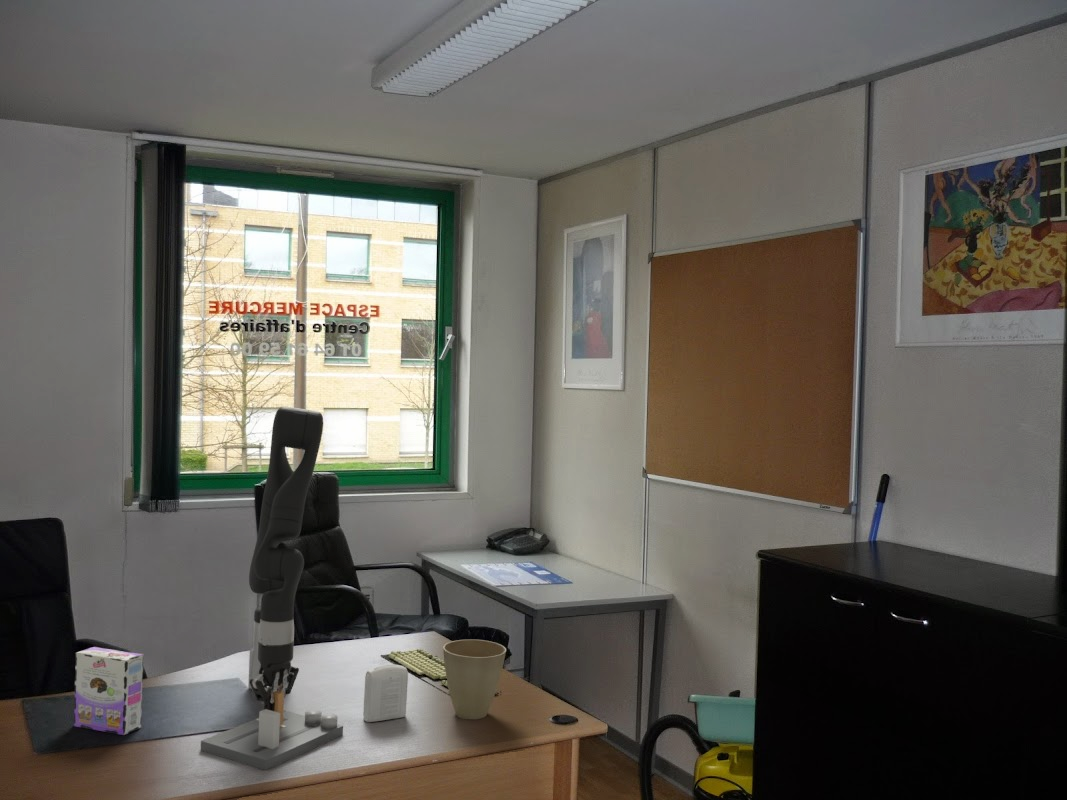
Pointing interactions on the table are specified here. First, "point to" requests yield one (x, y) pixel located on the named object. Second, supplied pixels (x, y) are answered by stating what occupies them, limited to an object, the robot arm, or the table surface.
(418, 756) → the table surface
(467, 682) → the plant pot
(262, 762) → the console
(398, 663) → the keyboard
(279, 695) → the fader cap
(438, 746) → the table surface
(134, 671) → the candy box
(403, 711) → the photo printer
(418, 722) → the table surface
